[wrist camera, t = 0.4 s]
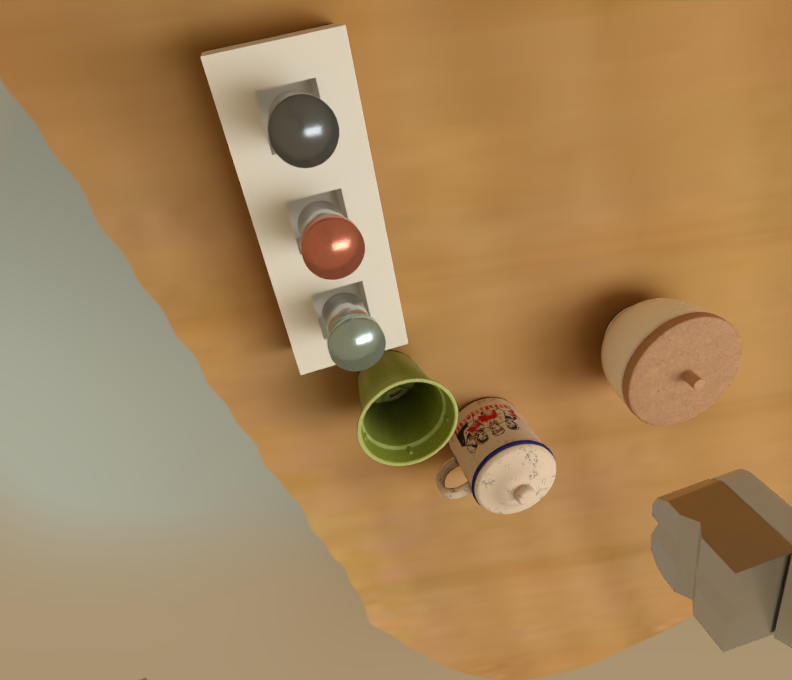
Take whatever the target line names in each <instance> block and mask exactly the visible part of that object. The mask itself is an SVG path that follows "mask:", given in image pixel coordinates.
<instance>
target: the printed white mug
mask: <svg viewBox="0 0 792 680" xmlns="http://www.w3.org/2000/svg"><path fill="white" fill-rule="evenodd" d="M448 442H449V446H450V448H451V450H452V452H453V454H454V457H452V458H451V459H449V460H448V461H446V462H445V463H444V464H443V465H442V466H441V467H440V469H439V471H438V473H437V478H436V482H437V487H438V489H439V491H440V493H441V494H442V495H443V496H444V497H446V498H450V499H456V498H461V497H463V496H465V495H467V494H469V493H471V492H472V493H473V496H474V498H475V500H476V501H477V503H478V504H479V505H481V506H482V507H483V508H484V509H486V510H488V511H490V512H493V513H497V514H511V513H516V512H520V511H522V510H525V509H527V508H529V507H531V506H532V505H534V504H535V503H537V502H538V501H539V500H540V499H542V498H543V497H544V496H545V494H546V493H547V492H548V491H549V489H550V488H551V486H552V484H553V482H554V479H555V475H556V463H555V458H554V456H553V454H552V452H551V451H550V449H549V448H548V447H546V446H545V445H544V444H542V443H541V441H540V440H539V439H538V437H537V436H536V435H535V433H534V432H533V431H532V429H531V428H530V427H529V425H528V424H527V423H526V421H525V420H524V419H523V417H522V416H521V415H520V413H519V412H518V411H517V409H516V408H515V407H514V406H513V405H512V404H511V403H510V402H508V401H506V400H503V399H499V398H485V399H481V400H478V401H475V402H473V403H471V404H469V405H468V406H466V407H465V408H464V409H462V410H461V411H460V412H459V413H458V420H457V425H456V428H455V431H454V433H453V435H452V437H451V438H450V439H449V441H448ZM458 466H460V467H461V469H462V471H463V473H464V474H465V476H466V478H467V480H468V482H467V483H465V484H463V485H461V486H459V487H456V488H446V487H445V479H446V476H447V475H448V473H449V472H450V471H451V470H453V469H454V468H456V467H458Z"/></svg>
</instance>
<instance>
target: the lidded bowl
mask: <svg viewBox="0 0 792 680" xmlns="http://www.w3.org/2000/svg"><path fill="white" fill-rule="evenodd" d="M740 358H741V343H740V338H739V335H738V333H737V331H736V329H735V328H734V327H733V326H732V325H731V324H730V323H729V322H727V321H726V320H725V319H723V318H721V317H719V316H717V315H714V314H712V313H710V312H708V311H706V310H705V309H703V308H701V307H698V306H696V305H694V304H691V303H689V302H686V301H682V300H678V299H673V298H655V299H649V300H645V301H641V302H639V303H637V304H635V305H631V306H629V307H627V308H625V309H623V310H622V311H621V312H619V313H618V314H617V315H616V316H615V317H614V318H613V319H612V320H611V322H610V323H609V325H608V327H607V329H606V331H605V334H604V339H603V343H602V348H601V362H602V367H603V371H604V374H605V376H606V379H607V380H608V382H609V384H610V386H611V387H612V389H613V390H614V391H615V393H616V394H617V395H618V397H619V398H620V399H621V400H622V401H623V402H624V403H625V404H626V405H627V406H628V408H629V409H630V411H631V412H632V413H633V414H634V415H635V416H637V417H638V418H639V419H640V420H642V421H643V422H645V423H648V424H651V425H657V426H669V425H674V424H678V423H682V422H685V421H687V420H689V419H691V418H694V417H695V416H697V415H699V414H701V413H702V412H704V411H705V410H706V409H708V408H709V407H710V406H711V405H712V404H713V403H715V402H716V401H717V400H718V399H719V398H720V396H721V395H722V394H723V393H724V392H725V390H726V389H727V388H728V387H729V385H730V383H731V382H732V380H733V378H734V376H735V374H736V372H737V370H738V366H739V363H740Z"/></svg>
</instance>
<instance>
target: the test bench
mask: <svg viewBox="0 0 792 680" xmlns="http://www.w3.org/2000/svg"><path fill="white" fill-rule="evenodd" d="M200 58H201V61H202V64H203V67H204V70H205V73H206V77H207V80H208V83H209V86H210V89H211V92H212V96H213V99H214V102H215V105H216V108H217V111H218V115H219V118H220V121H221V124H222V127H223V130H224V134H225V137H226V140H227V143H228V146H229V149H230V153H231V156H232V159H233V162H234V165H235V168H236V172H237V175H238V178H239V181H240V184H241V188H242V191H243V194H244V197H245V200H246V203H247V207H248V210H249V213H250V216H251V219H252V222H253V226H254V229H255V232H256V235H257V238H258V241H259V245H260V248H261V251H262V254H263V257H264V260H265V264H266V267H267V270H268V273H269V276H270V279H271V283H272V286H273V289H274V292H275V295H276V298H277V302H278V305H279V308H280V311H281V314H282V317H283V321H284V324H285V327H286V330H287V333H288V336H289V340H290V343H291V346H292V349H293V352H294V355H295V359H296V362H297V365H298V368H299V371H300V375H303V374H306V373H310V372H313V371H317V370H320V369H323V368H327V367H330V366H334V365H336V364H335V363H334V362H333V361H332V359H331V356H330V354H329V351H328V348H327V335H328V332H327V329H326V326H325V323H324V320H323V316H322V310H323V306H324V304H325V302H326V301H327V300H328V299H329V298H330V297H331V296H333V295H335V294H337V293H342V292H348V293H352V294H354V295H356V296H357V297H359V298H360V300H361V301H362V303H363V305H364V307H365V309H366V311H367V313H368V315H369V316H370V317H372V318H373V319H374V320H376V321H377V323H378V324H379V326H380V327H381V329H382V331H383V333H384V336H385V340H386V347H385V350H388V349H392V348H395V347H398V346H402V345H405V344H408V340H407V334H406V329H405V324H404V319H403V314H402V309H401V304H400V299H399V294H398V289H397V284H396V279H395V274H394V269H393V263H392V258H391V253H390V248H389V243H388V238H387V233H386V228H385V223H384V218H383V213H382V208H381V203H380V197H379V192H378V187H377V182H376V177H375V172H374V167H373V162H372V157H371V152H370V147H369V142H368V137H367V132H366V126H365V121H364V116H363V111H362V106H361V101H360V96H359V91H358V86H357V81H356V76H355V71H354V66H353V61H352V55H351V50H350V45H349V40H348V35H347V30H346V25H341V24H329V25H325V26H320V27H316V28H311V29H306V30H302V31H297V32H293V33H288V34H283V35H279V36H274V37H270V38H265V39H260V40H256V41H251V42H246V43H242V44H237V45H233V46H228V47H223V48H219V49H214V50H210V51H205V52H202V53H201V56H200ZM290 90H295V91H300V92H302V93H308V94H312V95H314V96H316V97H318V98H320V99H321V100H322V101H324V102H325V103H326V104H327V105H328V106H329V107H330V108H331V109H332V111H333V112H334V114H335V116H336V118H337V121H338V125H339V140H338V144H337V147H336V149H335V151H334V153H333V154H332V155H331V157H330V158H329V159H328V160H326V161H325V162H324V163H322V164H320V165H318V166H315V167H312V168H298V167H294V166H292V165H290V164H288V163H286V162H285V161H283V160H282V159H281V158H280V157H279V156H278V155H277V154H276V152H275V151H274V149H273V147H272V145H271V142H270V140H269V136H268V130H267V123H268V111H269V107H270V105H271V103H272V101H273V100H274V99H275V97H277V96H278V95H279V94H281V93H283V92H285V91H290ZM321 200H322V201H328V202H331V203H333V204H334V205H335V206H337V207H338V209H339V210H340V211H341V213H342V215H343V216H344V217H346V218H348V219H349V220H351V221H352V222H353V223H354V224H355V225H356V227H357V228H358V230H359V231H360V233H361V234H362V237H363V239H364V243H365V254H364V258H363V260H362V262H361V264H360V266H359V267H358V268H357V269H356V270H355V271H354V272H353V273H352V274H350V275H349V276H347V277H344V278H341V279H337V280H328V279H323V278H320V277H318V276H316V275H315V274H313V273H312V272H311V271H310V270H309V269H308V268H307V266H306V264H305V263H304V260H303V257H302V254H301V250H300V239H301V235H300V232H299V230H298V217H299V214H300V212H301V211H302V209H303V208H304V207H305V206H307V205H308V204H309V203H312V202H314V201H321Z"/></svg>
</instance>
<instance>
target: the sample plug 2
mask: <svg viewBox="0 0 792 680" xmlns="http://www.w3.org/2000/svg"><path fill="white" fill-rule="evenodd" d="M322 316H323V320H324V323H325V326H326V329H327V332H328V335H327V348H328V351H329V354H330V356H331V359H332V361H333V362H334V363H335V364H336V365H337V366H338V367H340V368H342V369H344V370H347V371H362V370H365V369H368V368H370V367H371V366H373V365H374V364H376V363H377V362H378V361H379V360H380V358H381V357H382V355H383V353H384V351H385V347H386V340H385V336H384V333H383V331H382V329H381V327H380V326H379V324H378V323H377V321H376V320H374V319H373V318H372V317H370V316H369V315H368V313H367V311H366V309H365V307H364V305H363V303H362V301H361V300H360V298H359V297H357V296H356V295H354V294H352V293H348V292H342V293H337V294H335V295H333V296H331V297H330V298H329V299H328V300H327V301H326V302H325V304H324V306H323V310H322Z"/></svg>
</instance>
